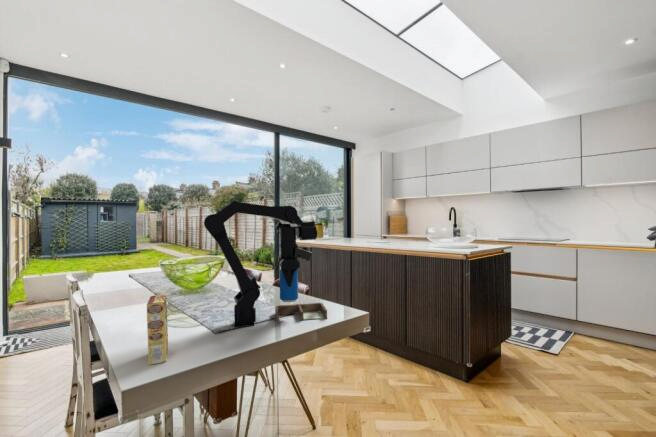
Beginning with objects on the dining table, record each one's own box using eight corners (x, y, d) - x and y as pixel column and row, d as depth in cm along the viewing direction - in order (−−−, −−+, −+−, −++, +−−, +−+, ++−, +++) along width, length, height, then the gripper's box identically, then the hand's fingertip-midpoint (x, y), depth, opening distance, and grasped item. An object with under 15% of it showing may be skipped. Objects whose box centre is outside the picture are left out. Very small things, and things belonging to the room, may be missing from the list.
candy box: (166, 362, 81) (165, 301, 81) (147, 365, 80) (146, 303, 79) (168, 349, 89) (167, 293, 89) (151, 352, 88) (150, 295, 88)
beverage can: (297, 302, 113) (296, 268, 113) (278, 302, 113) (278, 268, 113) (299, 298, 119) (298, 265, 119) (281, 298, 119) (281, 265, 119)
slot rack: (276, 322, 111) (276, 313, 111) (275, 313, 121) (275, 305, 121) (327, 318, 114) (327, 310, 114) (321, 310, 124) (321, 302, 124)
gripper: (314, 242, 108) (315, 289, 108) (306, 238, 127) (307, 278, 127) (280, 243, 106) (281, 291, 106) (278, 239, 124) (278, 280, 125)
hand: (288, 284), depth 116 cm, fingers closed on beverage can, 6 cm apart
